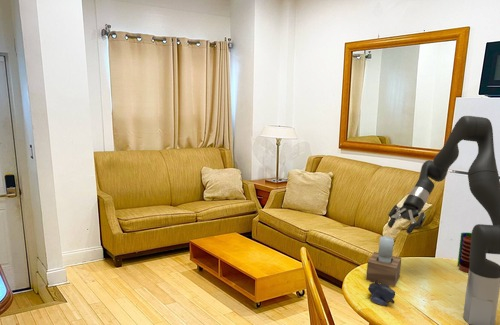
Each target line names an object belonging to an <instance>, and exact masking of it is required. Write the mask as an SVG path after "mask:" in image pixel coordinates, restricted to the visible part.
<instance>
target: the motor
mask: <svg viewBox="0 0 500 325" xmlns="http://www.w3.org/2000/svg"><path fill="white" fill-rule="evenodd" d="M471 234H472V232H461V233H460V240H459V250H458V257H457V264H456V265H457V267H458V270H459V271H461V272H463V273H466V274H469V266H470V247H471Z"/></svg>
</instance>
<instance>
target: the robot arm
mask: <svg viewBox="0 0 500 325" xmlns="http://www.w3.org/2000/svg"><path fill="white" fill-rule="evenodd" d="M461 141H466V142H467V141H468V142H475V143H476V144H477V154H476V157H475V158H474V160H473V161H472V163H471V164H470V166H469V168H468V170H467V179H468V187H469V191H470V192H471V194H472V195H473V197H474V198H475V199H476V200H477V202H478V203H479V204H480V205H481V206H482V207H483V209H484V210H485V211H486V212H487V215H488V216H489V218H490V221H491V224H482V223H480V224H475V225H473V228H472V230H471V233H472V234H471V247H470V266H469V274H468V273H467V274H468V275H467V282H466V291H465V298H464V306H463V312H462V313H463V314H462V317H463V319H464V321H466V322H467V324H468V325H496V317H497V312H498V304H499V297H500V264H498V263H497V262H495V261H493V260H490V259H488V258H487V254H489V255H490V254H491V255H500V176H499V175H500V174H499V171H498V166H497V162H496V155H495V146H494V145H495V144H494V130H493V124H492V121H491V120H490V119H488V118H487V117H481V116H474V115H464V116H461V117H460V118H459V119H458V120H457V121H456V122H455V124H454V125H453V128H452V130H451V132H450V134H449V135H448V137H447V139H446V141H445V144H444V145H443V147H442V148H441V149H440V150H439V151H438V153H437V154H436V155H435V156H434V157H433V160H430V159H427V160H426V161H424V162H423V163H422V165H421V168H420V174H419V178H418V180H417V182H416V183H415V184H414V186H413V188H412V189H411V190H410V192H409V193H408V195H407V196H406V198H405V200H404V202H403V204H402V206H398V205H396V204H395V205H393V206H392V209H391V210H390V211H389V213H388V216H389V221H388V222H387V226H388V228H390V229H392V228H393V226H394V224H395V223H396V221H398V220H401V219H404V220H407V221H410V222H411V223H409V225H408V227H407V229H406V233H407V234H408V235H410V234H412V233H413V232H414V230H415V228H417V227H418V228H421V227H422V226H423V224H424V222H425V219H426V217H427V216H426V214H425V212H424V211H422V210H423V208H424V207H425V205H426V203H427V201H428V199H429V197H430V195H431V193H432V192H433V190H434V189H435V183H434V182H436V183H439V182H442V181H444V180H445V179H446V177H447V175H448V171H449V169H450V167H451V166H452V165H453V164H454V163H455V162H456V160H457V159H458V157H459V154H460V149H459V143H460V142H461ZM432 180H433V181H434V182H433V181H432ZM421 211H422V212H421ZM417 217H418V218H417ZM416 218H417V220H416Z"/></svg>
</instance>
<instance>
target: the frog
mask: <svg viewBox="0 0 500 325" xmlns="http://www.w3.org/2000/svg"><path fill="white" fill-rule="evenodd" d="M377 281H378V280H376V281H375V282H372V283H370V284H369V286H368V288H367V289H368V292H369V293H370V294H371V296H370V301H371V302H372V303H374V304H377V305H379V306H384V307H388V303H387V302H389V301H390V302H392V304H395V300H394V299H395V297H396V291H395V290H394V289H392V288H391V286H388V285H385V284H380V283H379V282H381V281H379V282H378V283H376V282H377Z"/></svg>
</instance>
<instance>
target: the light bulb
mask: <svg viewBox="0 0 500 325" xmlns="http://www.w3.org/2000/svg"><path fill="white" fill-rule="evenodd" d="M394 240H395V239H394V238H393V237H390V236H379V243H378V252H377V253H378V255H379V261H381V262H385V263H390V264H391V257H392V256H393V254H394V253H393V252H394Z"/></svg>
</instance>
